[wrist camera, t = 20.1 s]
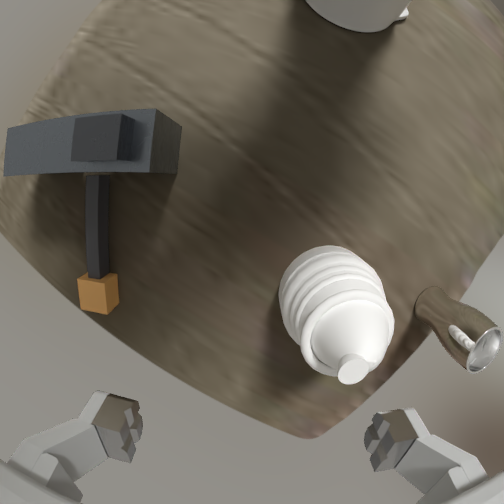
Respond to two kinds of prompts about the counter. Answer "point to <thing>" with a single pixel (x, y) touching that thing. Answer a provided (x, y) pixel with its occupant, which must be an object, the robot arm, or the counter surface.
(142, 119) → the grey block
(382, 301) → the honey pot
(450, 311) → the beer glass
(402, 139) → the counter surface
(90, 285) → the plug
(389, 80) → the counter surface
